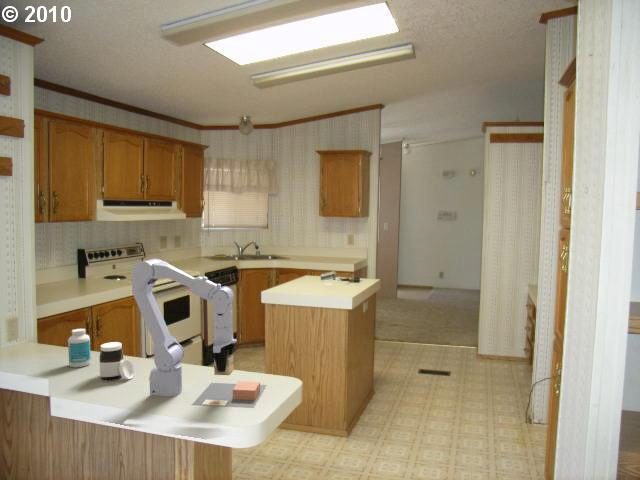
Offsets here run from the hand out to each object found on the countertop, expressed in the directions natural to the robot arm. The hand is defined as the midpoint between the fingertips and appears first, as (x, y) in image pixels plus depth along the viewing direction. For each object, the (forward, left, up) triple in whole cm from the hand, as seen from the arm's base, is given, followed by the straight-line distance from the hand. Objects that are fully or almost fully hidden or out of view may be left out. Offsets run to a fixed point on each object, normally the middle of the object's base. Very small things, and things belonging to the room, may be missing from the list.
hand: (224, 368), depth 152 cm
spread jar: (-43, +13, -10) cm, 46 cm away
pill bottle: (-64, +24, -10) cm, 69 cm away
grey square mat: (+2, 0, -9) cm, 10 cm away
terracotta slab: (+7, 0, -8) cm, 11 cm away
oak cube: (0, 0, -1) cm, 1 cm away
